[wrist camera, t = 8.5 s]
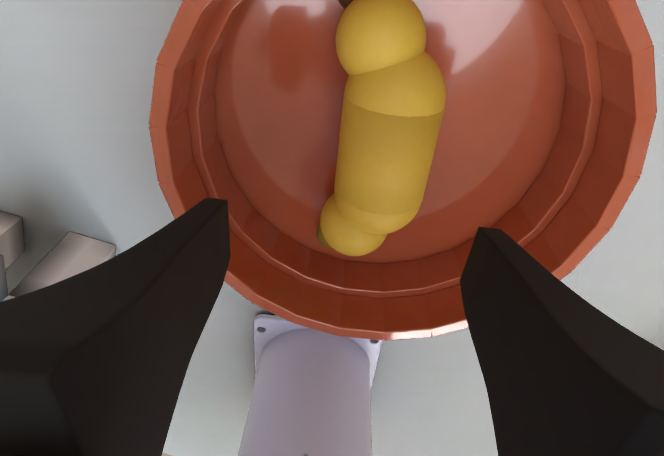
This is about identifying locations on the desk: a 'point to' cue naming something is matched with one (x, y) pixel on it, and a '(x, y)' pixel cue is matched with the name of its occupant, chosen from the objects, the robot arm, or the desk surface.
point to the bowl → (448, 160)
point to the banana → (382, 124)
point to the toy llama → (47, 257)
